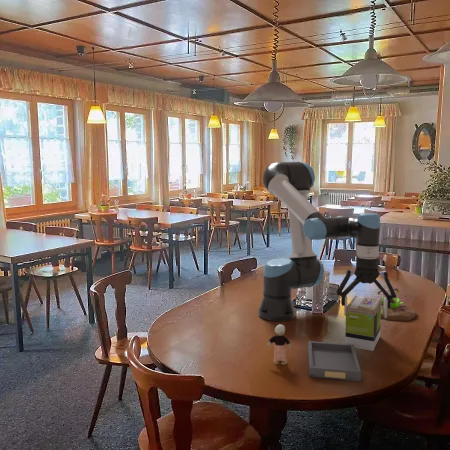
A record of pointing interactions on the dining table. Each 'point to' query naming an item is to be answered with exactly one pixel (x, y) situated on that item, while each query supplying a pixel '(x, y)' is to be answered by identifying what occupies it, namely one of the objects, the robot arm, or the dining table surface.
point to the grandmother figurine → (280, 345)
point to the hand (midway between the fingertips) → (365, 315)
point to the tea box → (363, 322)
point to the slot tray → (333, 361)
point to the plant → (397, 310)
